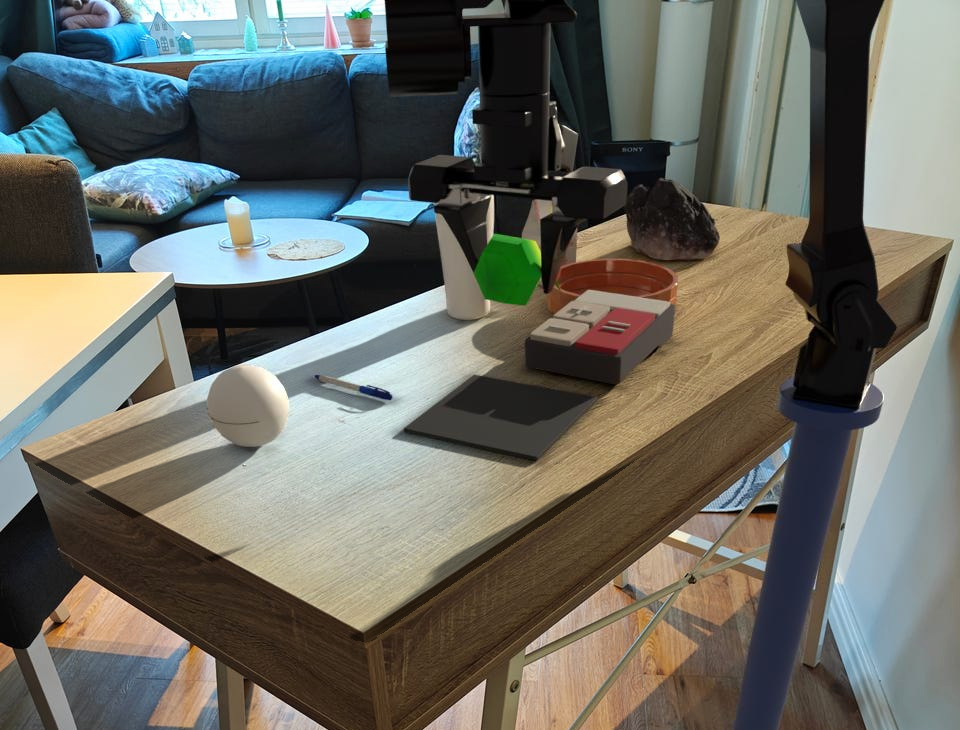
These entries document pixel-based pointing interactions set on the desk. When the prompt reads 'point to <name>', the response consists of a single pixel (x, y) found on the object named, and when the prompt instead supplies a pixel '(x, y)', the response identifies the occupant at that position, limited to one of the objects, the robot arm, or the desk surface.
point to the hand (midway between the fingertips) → (515, 287)
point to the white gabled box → (533, 229)
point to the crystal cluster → (669, 222)
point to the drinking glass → (461, 272)
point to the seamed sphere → (248, 405)
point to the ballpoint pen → (356, 387)
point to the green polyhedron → (509, 270)
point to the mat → (502, 416)
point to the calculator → (600, 336)
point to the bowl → (613, 281)
